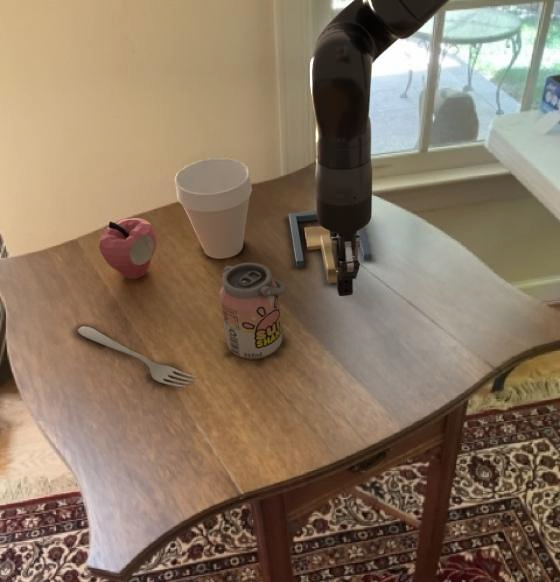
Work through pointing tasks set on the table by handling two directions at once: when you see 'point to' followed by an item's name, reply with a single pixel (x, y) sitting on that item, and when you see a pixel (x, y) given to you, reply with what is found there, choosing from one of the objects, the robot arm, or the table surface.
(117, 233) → the apple
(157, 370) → the fork
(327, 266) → the t-shaped block
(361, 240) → the u-shaped stop
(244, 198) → the cup
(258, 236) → the table surface
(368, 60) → the robot arm
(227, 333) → the beverage can
